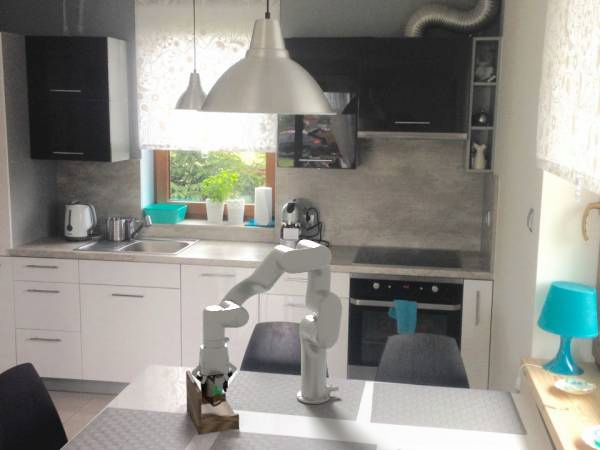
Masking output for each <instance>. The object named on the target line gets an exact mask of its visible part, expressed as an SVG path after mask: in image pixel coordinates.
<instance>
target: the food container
mask: <svg viewBox="0 0 600 450" xmlns="http://www.w3.org/2000/svg"><path fill="white" fill-rule="evenodd" d="M198 373H199V374H198V375H199V376H200V377H201V372H199V371H198ZM224 382H225V377H224V375H223V374H220V375H211V376H207V378H206V380H205V383H206V394H205V395H204V393H203V392H201V398H203V399H204V400H205V401H207V402H208V403H209V404H210V405H212V406H213V407H215V406H218V405H220V404H221V402H222V393H223V392H224V390H223V383H224Z"/></svg>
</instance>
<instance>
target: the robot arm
mask: <svg viewBox="0 0 600 450" xmlns="http://www.w3.org/2000/svg"><path fill="white" fill-rule="evenodd" d="M332 257H333V256H332V252H331V250H330V248H329V247H327V246H326V245H324V244H321V243H319V242H316V241H314V240H313V241H312V240H310V239H302V240H299V241H298V243H297V244H296V246H295V248H291V247H289V246H286V245H281V244H279V245H276V246H274V247H273V248H272V249H271V250H270V252H269V253H268V254H267V255H266V256H265V257H264V259H263V260H262V261H261V262H260V264H259V265H258V266H257V267H256V268H255V269H254V271H253V272H252V273H251V274H250V275H249V276H248V277H246V278H244V279H243V280H241V281H240V282H238V283H237V284H235V285H234V286H233V287H232V288H230V290H229V291H227V293H226V294H225V296H224V297H223V298H222V299H221V301H220V302H219V304H218V305H210V306H206V307H204V308H203V310H202V345H200V348H199V356H198V365H197V366H196V367H195V368H194V369H193V370H192V371H190V372H191V374H192V376H193V378H194V379H196V380H197V381H198V382H200V390H201V392H203V393H204V395H205V394H206V383H205V380H206V378H207V376H211V375H220V374H223V375H224V377H225V382H224V383H223V393H224V392H225V393H227V392H228V391H227V389H228V388H229V381H230V378H231V377H232V376H233V375H234V374H235V372H236V371H237V369H238V368H237V366H235V365H234V364H233V363H232V362H231V361H230V358H229V357H230V356H229V349H228V345H227V343H228V342H230V337H226V328H228V329H229V328H233V329H237V328H243V327H245V325H247V324H248V322H249V320H250V314H249V312H248V310H247V309H246V308H245V307H243V305H244V304H245V302H247V300H249V299H250V298H252V297H253V296H255V295H259V294H260V295H261V294H264V293H267V292H269V291H271V289H272V288H273V287H274V286H275V284H276V283H277V282H278V281H279V280H280V278H281V277H282V276H283V274H284V273H286V274H290V275H291V274H292V275H293V274H303V273H307V281H306V282H307V285H306V290H305V291H306V293H305V307H306V308H307V309H308V311H310V312H311V313H313V314H308V315H305V316H304V317H303V318H302V319H301V320H300V322H299V326H298V333H299V339H300V390H299V391H298V392H296V399H297V400H298V401H299V402H302V403H304V404H308V405H309V404H310V405H318V404H323V403H326V402H328V401H330V399H331V392H338V391H339V386H338V385H333V384H327V367H328V366H327V364H328V363H327V358H328V354H327V353H328V351H327V350H328V349H332V348H333V347H334V346H335V345H336V344H337V343H338V340H339V337H340V332H341V324H342V314H343V303H342V300H341V298H340V297H339V296H338V295H337V294H336V293H334V292H332V291H331V282H332V271H331V266H330V264H331V261H332ZM199 372H201V377H200V375H199V374H198V373H199Z"/></svg>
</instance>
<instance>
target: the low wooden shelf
mask: <svg viewBox="0 0 600 450" xmlns="http://www.w3.org/2000/svg"><path fill="white" fill-rule="evenodd" d="M191 372H192V371H190V370H186V371H185V379H186V380H185V382H186V412H187V414H188V416H189V417H190V421H191V422H192V424H193V427H194V429H195V430H196V433H197V435H198V436H199V435H207V434H212V433H219V432H225V431H232V430H239V429H240V414H239V412H238V413H235V411H234V410H233V408H232V406H231V405H230V403H229V401H228V400H227V396H226V395H227V392H224V391H223V392H222V402H221V404H220V405H218V406H215V407H213V406H212V405H210V404H209V403H208V402H207V401H205V400H204V399H203V398H201V388H200V387H199V385H198V383H197V381H196V380H195V377H194V376H193V375H192V373H191Z"/></svg>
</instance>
